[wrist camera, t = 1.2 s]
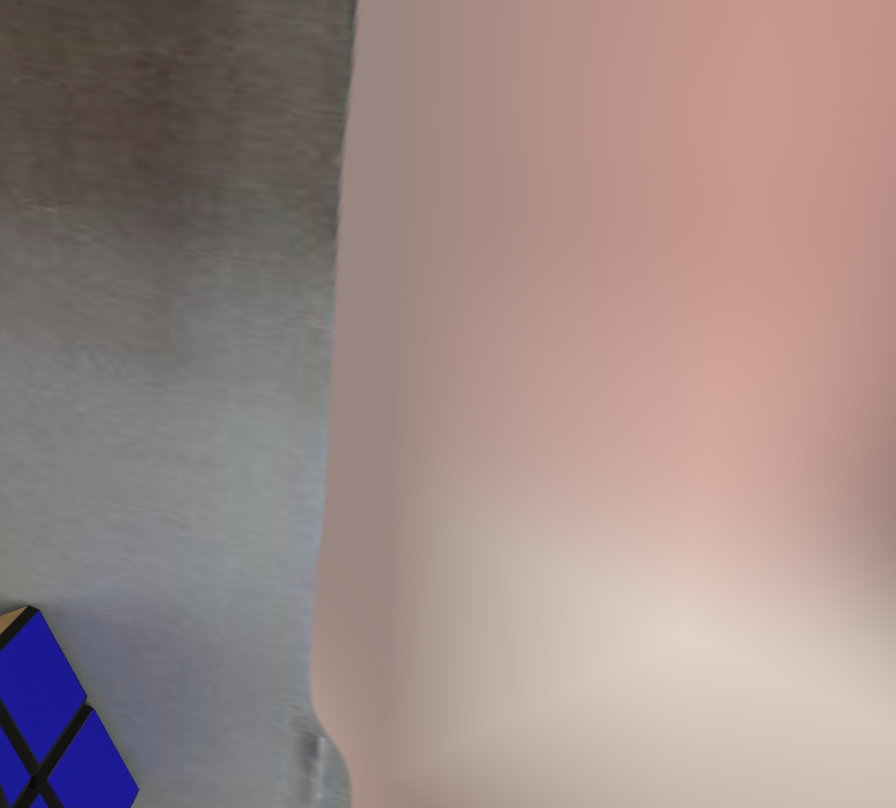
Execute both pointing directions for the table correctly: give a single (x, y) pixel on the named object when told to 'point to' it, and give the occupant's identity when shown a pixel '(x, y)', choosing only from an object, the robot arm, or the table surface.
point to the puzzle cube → (51, 727)
